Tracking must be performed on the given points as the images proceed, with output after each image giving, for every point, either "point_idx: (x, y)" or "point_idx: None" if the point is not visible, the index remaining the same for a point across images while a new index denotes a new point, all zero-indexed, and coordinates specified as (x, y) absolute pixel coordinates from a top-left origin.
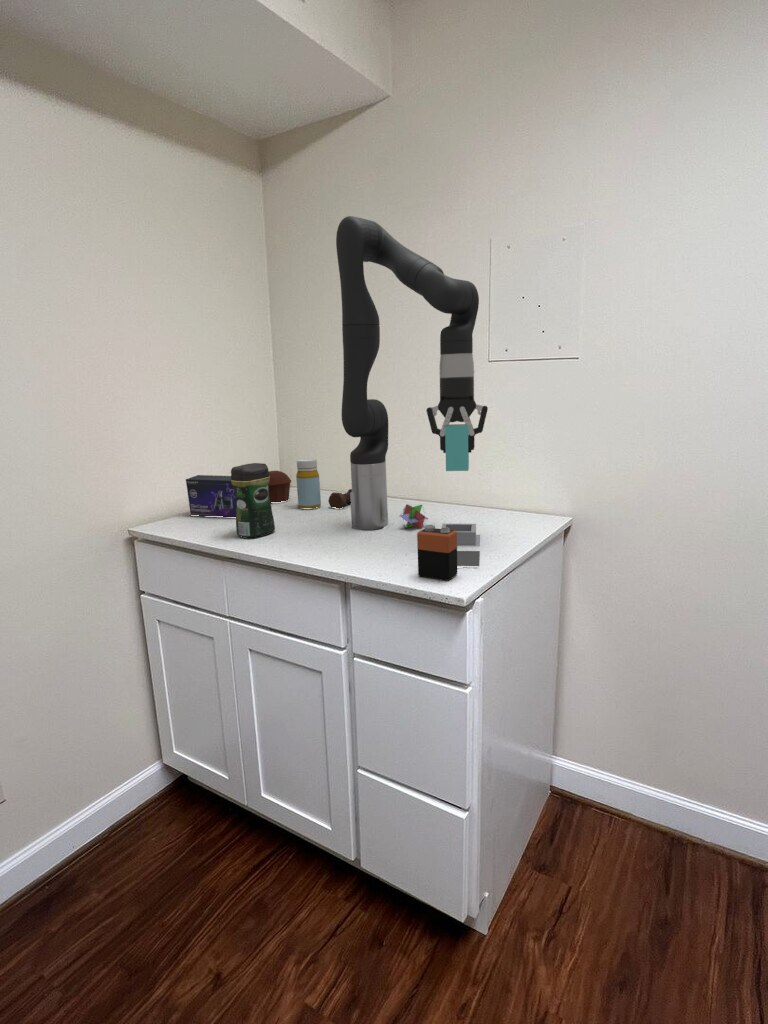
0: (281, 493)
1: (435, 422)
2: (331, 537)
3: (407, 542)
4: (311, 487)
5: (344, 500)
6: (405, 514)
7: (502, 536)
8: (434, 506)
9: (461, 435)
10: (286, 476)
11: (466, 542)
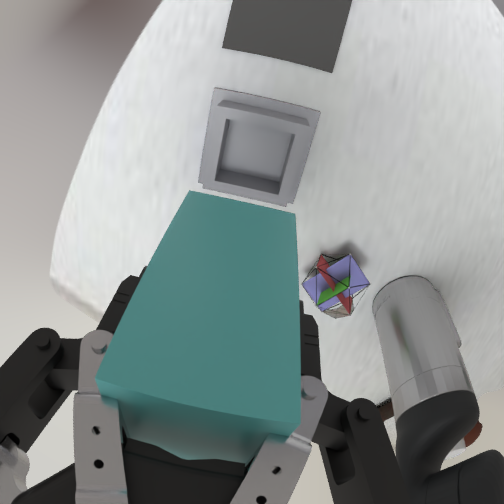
0: None
1: (336, 481)
2: (486, 247)
3: (372, 173)
4: None
5: None
6: (353, 292)
7: (151, 175)
8: None
9: (171, 329)
10: None
11: (243, 105)
